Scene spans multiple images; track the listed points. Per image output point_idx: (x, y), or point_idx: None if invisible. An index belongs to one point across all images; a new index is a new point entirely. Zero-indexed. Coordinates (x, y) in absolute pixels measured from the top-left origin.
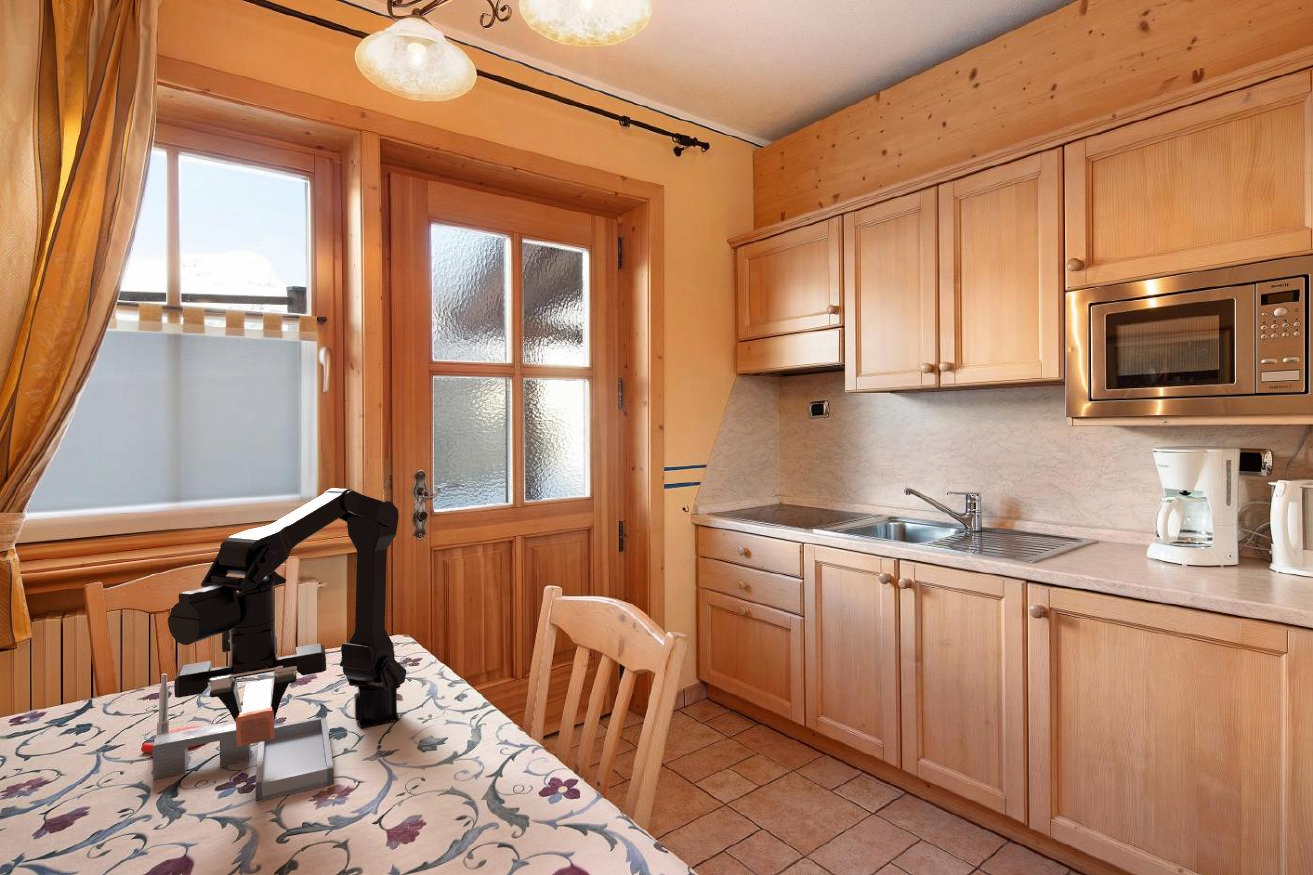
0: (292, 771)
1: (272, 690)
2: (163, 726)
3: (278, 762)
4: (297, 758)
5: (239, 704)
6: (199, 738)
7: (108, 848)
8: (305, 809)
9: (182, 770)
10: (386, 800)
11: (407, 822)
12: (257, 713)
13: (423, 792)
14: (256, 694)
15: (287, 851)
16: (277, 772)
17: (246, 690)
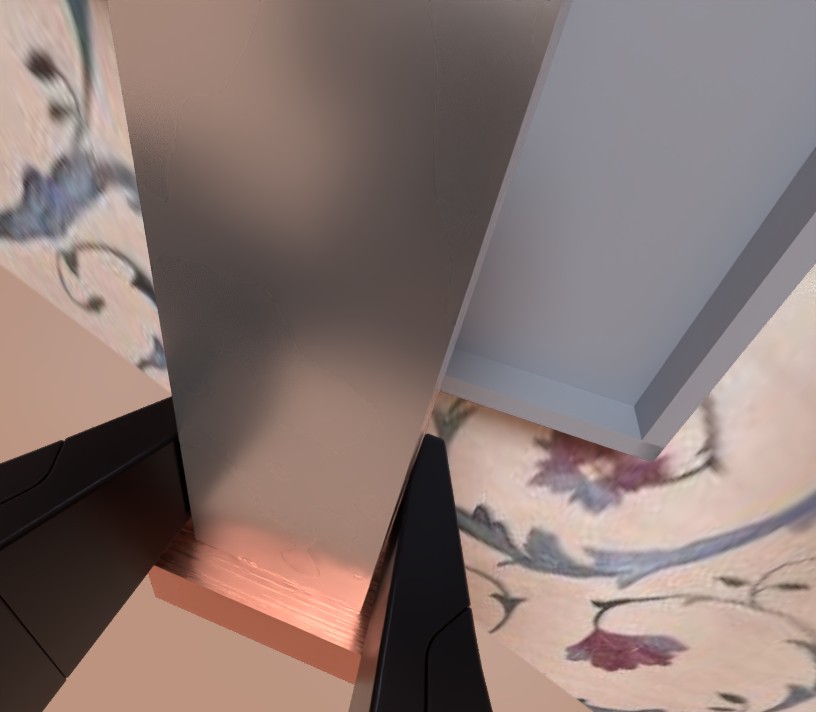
0: (573, 254)
1: (370, 684)
2: None
3: (569, 100)
4: (663, 124)
5: (116, 542)
6: None
7: (95, 290)
8: (506, 468)
9: None
10: (680, 573)
11: (644, 642)
12: (273, 645)
13: (776, 613)
14: (285, 126)
15: None
16: (523, 215)
17: None
